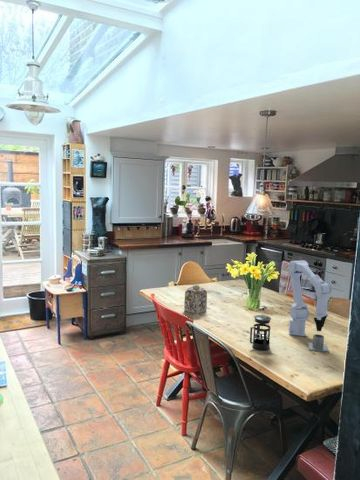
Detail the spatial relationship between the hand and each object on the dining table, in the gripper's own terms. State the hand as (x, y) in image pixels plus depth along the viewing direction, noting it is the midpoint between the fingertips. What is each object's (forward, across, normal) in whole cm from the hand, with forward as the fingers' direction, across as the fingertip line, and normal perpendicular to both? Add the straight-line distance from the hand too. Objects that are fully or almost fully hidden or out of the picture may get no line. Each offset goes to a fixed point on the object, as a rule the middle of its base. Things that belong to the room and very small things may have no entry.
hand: (320, 328), depth 223 cm
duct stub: (+10, -4, 0) cm, 10 cm away
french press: (+10, -20, +28) cm, 35 cm away
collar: (+9, -4, 0) cm, 10 cm away
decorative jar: (+10, +20, +86) cm, 89 cm away
